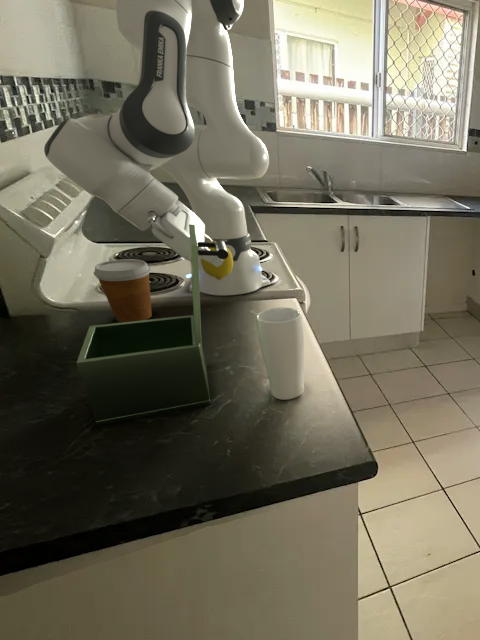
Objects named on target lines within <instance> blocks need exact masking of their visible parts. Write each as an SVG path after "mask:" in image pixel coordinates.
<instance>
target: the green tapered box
mask: <svg viewBox="0 0 480 640" xmlns="http://www.w3.org/2000/svg"><path fill="white" fill-rule="evenodd" d="M76 366H77V369H78V371H79V374H80V378H81V381H82V384H83V387H84V390H85V393H86V397H87V400H88V403H89V405H90V408H91V412H92V416H93V417H94V421H95V424H96V426H97V427H98V426H103V425H104V426H105V425H109V424H116V423H120V422H125V421H130V420H136V419H140V418H146V417H151V416H156V415H157V416H158V415H161V414H167V413H173V412H178V411H182V410H187V409H193V408H199V407H204V406H209V405H211V396H210V389H209V388H210V387H209V379H208V371H207V364H206V358H205V354H204V348H203V342H201V343H195V332H194V320H193V314H191V315H180V316H171V317H163V318H151V319H146V320H142V321H132V322H114V323H113V322H112V323H106V324H105V323H104V324H95V325H89V327H88V330H87V332H86V335H85V338H84V340H83V345H82V346H81V348H80V352H79V355H78V358H77V360H76Z"/></svg>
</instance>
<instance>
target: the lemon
mask: <svg viewBox="0 0 480 640" xmlns="http://www.w3.org/2000/svg"><path fill="white" fill-rule="evenodd" d="M215 242H216V241H213V242H212V243H215ZM226 248H227V247H226ZM208 249H209V250H214V251H216V250H215V248H210V247H208ZM227 251H228V257H227V258H226V259H223V264H222V265H220V266H219V267H216V266H214V265H213V264H211V263H210V262H208V261H206V260H204V259H201V264H202V267H203V269H204V271H205V272H206V273H207V274H209V275H210V276H212V277H215V278H216V279H218V280H221V279H222V278H223V277H225V276H227V275H228V274H230V272H231V271H232V269H233V257H232V254H231V252H230V250H229V249H228V248H227Z"/></svg>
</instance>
